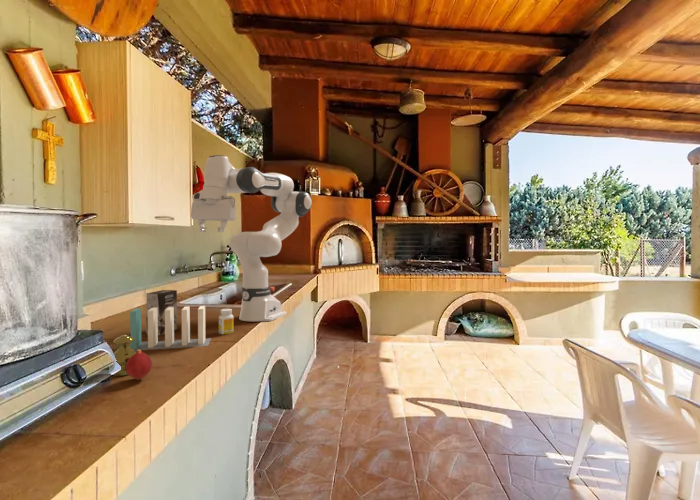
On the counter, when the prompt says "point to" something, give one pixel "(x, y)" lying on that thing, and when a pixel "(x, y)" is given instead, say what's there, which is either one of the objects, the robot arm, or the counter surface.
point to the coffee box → (161, 307)
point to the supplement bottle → (226, 322)
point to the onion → (138, 365)
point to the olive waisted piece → (123, 352)
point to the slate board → (175, 345)
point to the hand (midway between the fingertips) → (211, 232)
